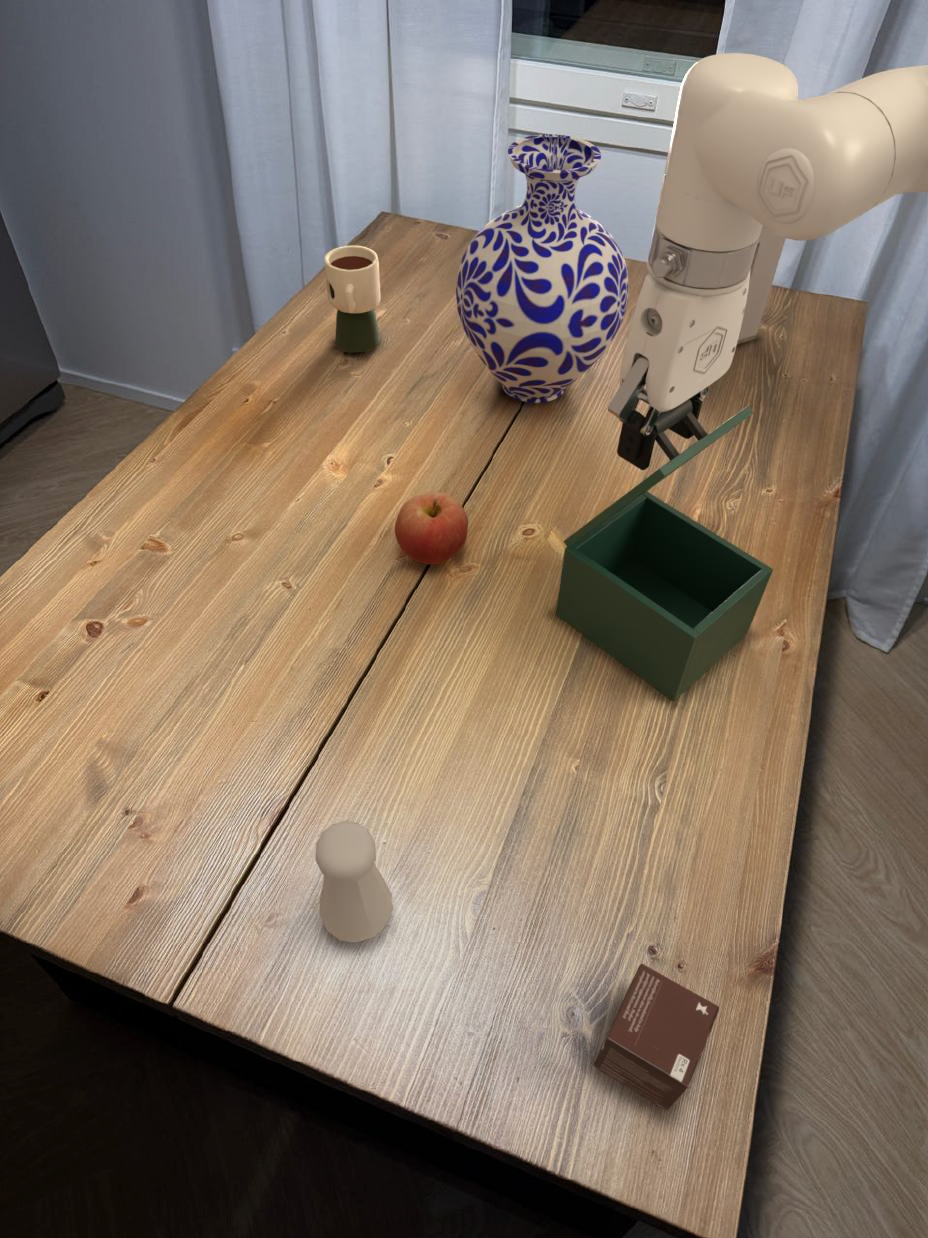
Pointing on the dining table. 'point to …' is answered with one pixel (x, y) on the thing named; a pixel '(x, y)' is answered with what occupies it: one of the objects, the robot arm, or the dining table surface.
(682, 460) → the lid
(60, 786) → the dining table surface
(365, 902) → the salt shaker
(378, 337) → the character mug
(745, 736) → the dining table surface
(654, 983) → the box
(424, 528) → the apple
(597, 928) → the dining table surface
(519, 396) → the vase
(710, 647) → the chest
